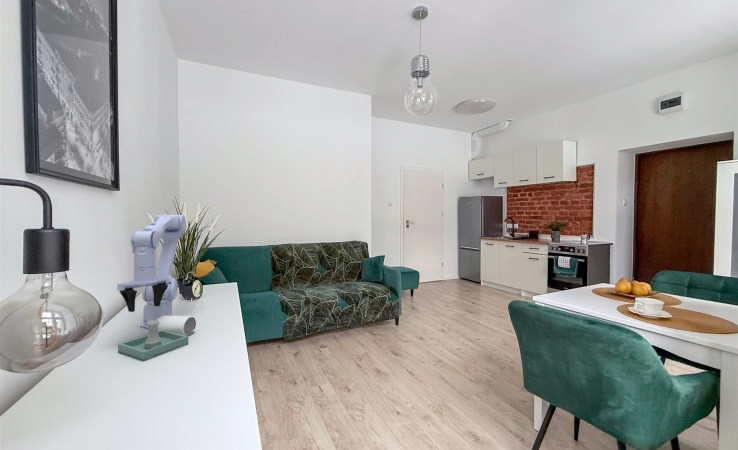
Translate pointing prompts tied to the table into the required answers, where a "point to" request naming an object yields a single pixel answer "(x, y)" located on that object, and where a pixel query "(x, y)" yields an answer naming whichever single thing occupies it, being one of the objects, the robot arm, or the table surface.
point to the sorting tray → (141, 353)
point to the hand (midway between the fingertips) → (144, 308)
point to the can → (177, 324)
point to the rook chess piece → (152, 335)
